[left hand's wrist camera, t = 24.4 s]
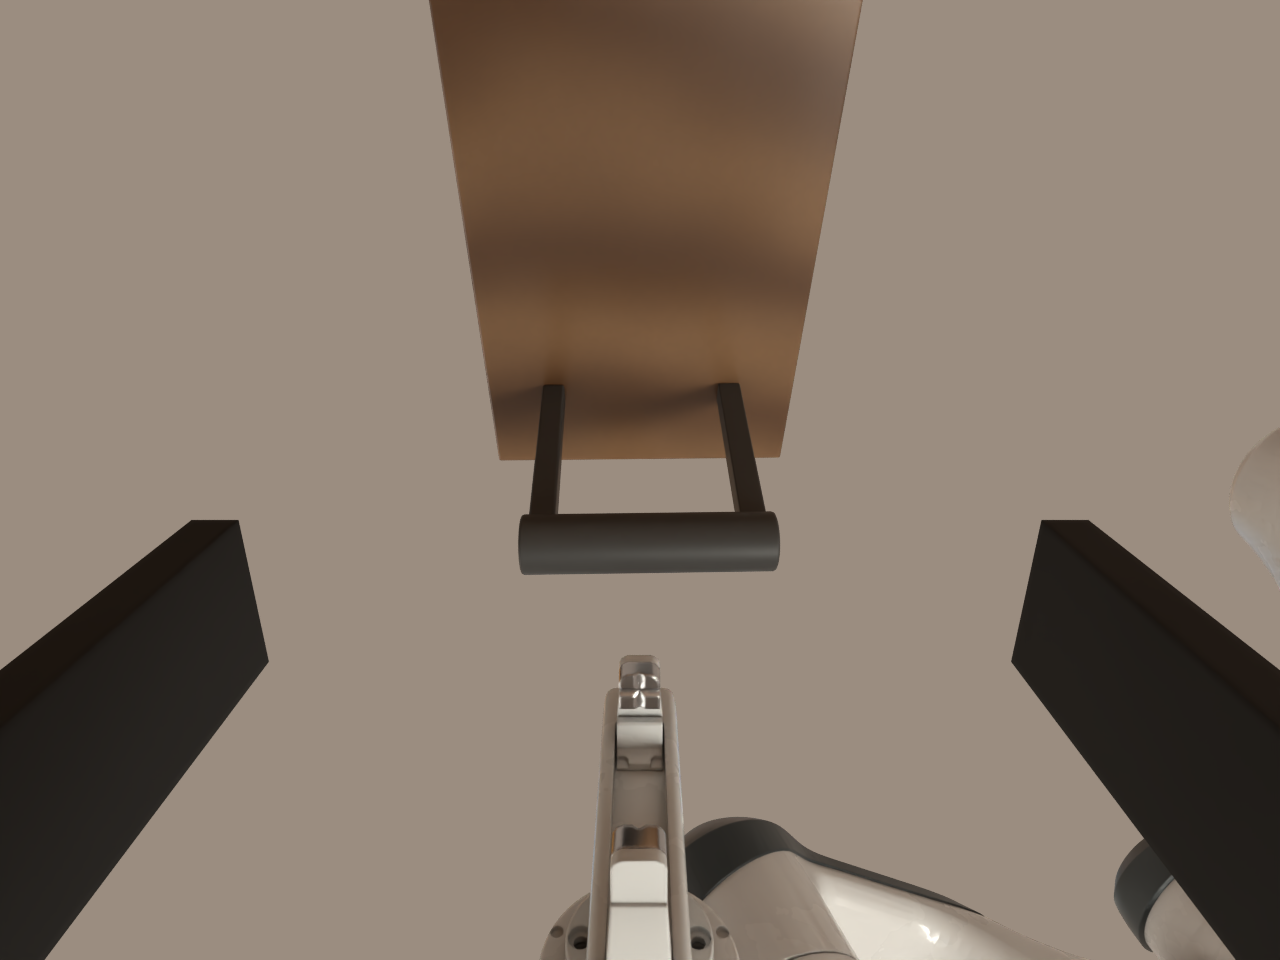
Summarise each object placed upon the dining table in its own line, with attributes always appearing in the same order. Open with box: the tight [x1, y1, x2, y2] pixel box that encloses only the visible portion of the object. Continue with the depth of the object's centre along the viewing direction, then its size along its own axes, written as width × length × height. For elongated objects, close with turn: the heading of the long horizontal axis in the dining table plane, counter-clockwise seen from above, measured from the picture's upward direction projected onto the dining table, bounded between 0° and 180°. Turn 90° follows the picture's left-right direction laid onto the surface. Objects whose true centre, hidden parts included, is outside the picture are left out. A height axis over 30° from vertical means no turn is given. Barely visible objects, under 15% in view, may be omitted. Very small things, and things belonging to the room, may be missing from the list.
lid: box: [429, 0, 863, 575], centre depth 20 cm, size 14×10×8 cm
